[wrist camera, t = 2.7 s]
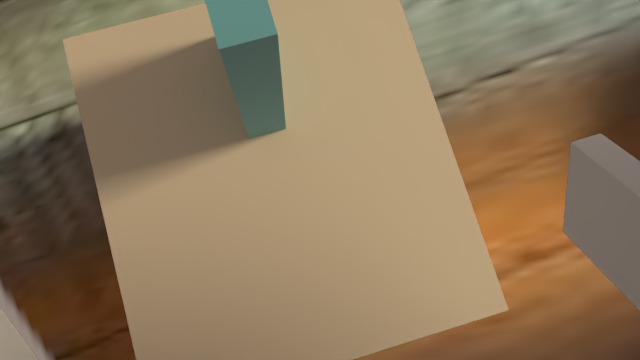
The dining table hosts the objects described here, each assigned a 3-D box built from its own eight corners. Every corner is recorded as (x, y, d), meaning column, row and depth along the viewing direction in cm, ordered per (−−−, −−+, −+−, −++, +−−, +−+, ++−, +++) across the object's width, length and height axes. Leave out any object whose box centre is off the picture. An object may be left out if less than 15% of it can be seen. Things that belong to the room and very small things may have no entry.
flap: (501, 309, 29) (638, 321, 17) (156, 419, 27) (47, 514, 16) (382, -33, 32) (428, -217, 21) (70, 47, 31) (-72, -104, 19)
